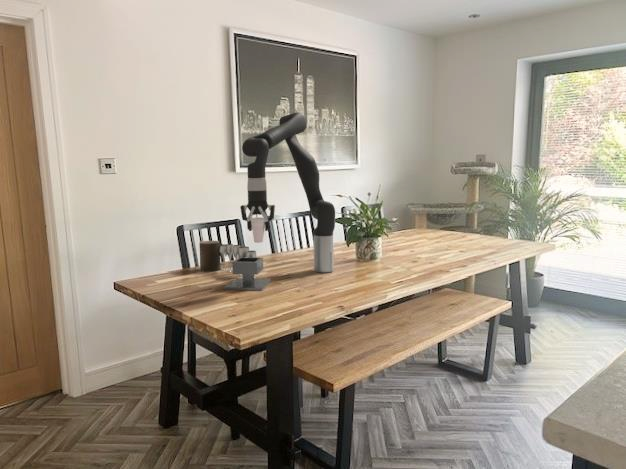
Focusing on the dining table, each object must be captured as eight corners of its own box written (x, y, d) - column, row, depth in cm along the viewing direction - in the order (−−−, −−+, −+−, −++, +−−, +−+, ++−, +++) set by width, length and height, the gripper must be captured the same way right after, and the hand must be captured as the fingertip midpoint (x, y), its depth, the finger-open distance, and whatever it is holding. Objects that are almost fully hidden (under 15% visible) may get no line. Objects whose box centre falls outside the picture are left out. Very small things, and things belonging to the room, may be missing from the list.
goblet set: (260, 277, 221) (259, 248, 219) (249, 279, 217) (248, 249, 215) (225, 267, 241) (224, 241, 239) (215, 269, 238) (214, 242, 236)
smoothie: (251, 240, 201) (249, 207, 199) (266, 240, 202) (265, 206, 200) (250, 243, 195) (249, 208, 193) (266, 242, 196) (265, 208, 193)
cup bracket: (271, 281, 214) (270, 256, 212) (262, 290, 198) (261, 264, 196) (236, 280, 216) (235, 255, 214) (224, 289, 200) (223, 263, 199)
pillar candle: (216, 272, 231) (215, 241, 229) (196, 271, 233) (195, 240, 231) (223, 268, 241) (222, 238, 239) (204, 267, 243) (203, 237, 241)
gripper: (276, 188, 198) (277, 229, 201) (242, 188, 200) (243, 229, 202) (272, 189, 191) (274, 232, 193) (237, 190, 192) (238, 232, 195)
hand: (258, 230), depth 198 cm, fingers closed on smoothie, 6 cm apart
